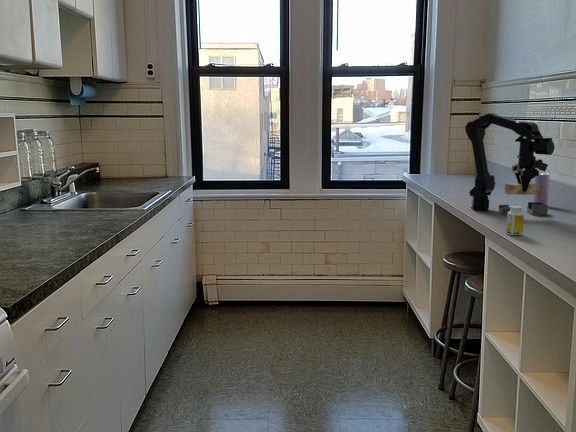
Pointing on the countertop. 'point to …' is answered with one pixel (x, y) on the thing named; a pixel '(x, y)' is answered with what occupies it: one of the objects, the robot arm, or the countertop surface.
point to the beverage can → (544, 181)
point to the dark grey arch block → (504, 209)
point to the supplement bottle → (515, 221)
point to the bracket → (537, 208)
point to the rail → (518, 190)
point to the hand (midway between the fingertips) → (523, 190)
